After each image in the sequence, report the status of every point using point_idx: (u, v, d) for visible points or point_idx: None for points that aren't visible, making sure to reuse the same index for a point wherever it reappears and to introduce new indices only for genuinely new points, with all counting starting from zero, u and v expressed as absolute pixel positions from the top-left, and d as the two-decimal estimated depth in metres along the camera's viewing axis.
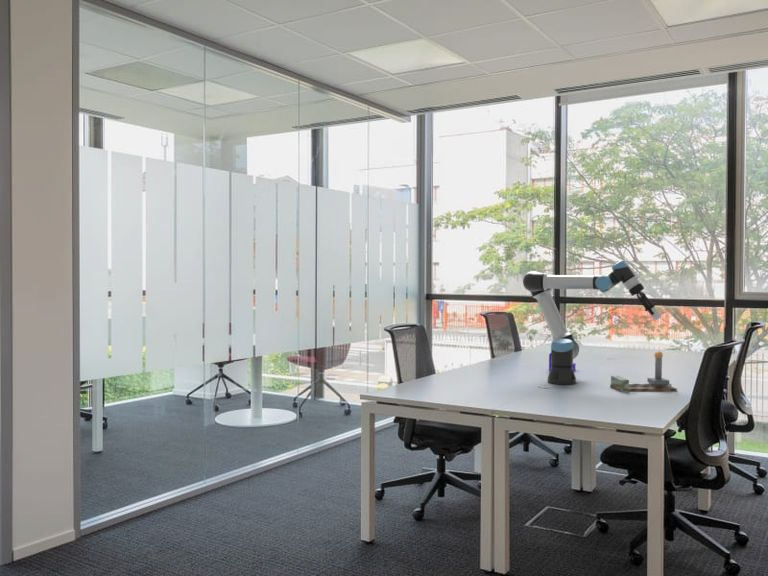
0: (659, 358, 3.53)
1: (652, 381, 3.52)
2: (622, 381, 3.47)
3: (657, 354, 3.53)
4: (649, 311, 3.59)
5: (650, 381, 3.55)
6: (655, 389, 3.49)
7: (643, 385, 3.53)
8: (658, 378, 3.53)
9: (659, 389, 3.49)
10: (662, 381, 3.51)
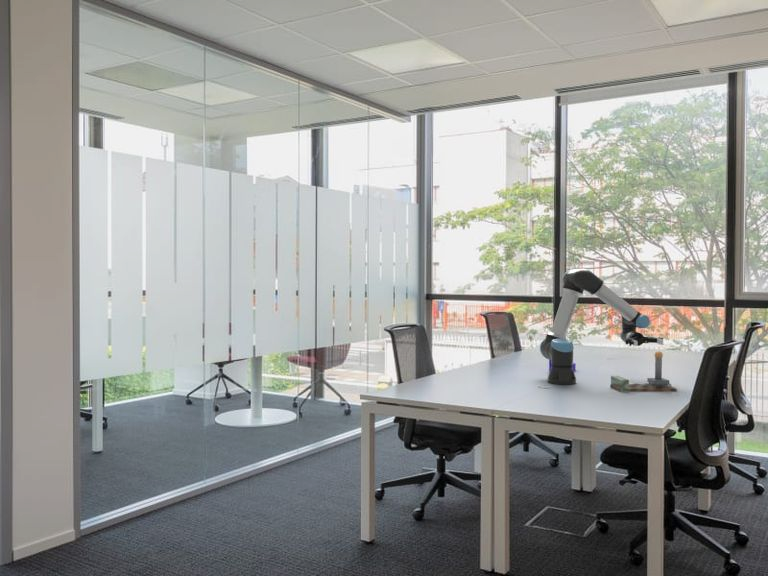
0: (659, 358, 3.53)
1: (652, 381, 3.52)
2: (622, 381, 3.47)
3: (657, 354, 3.53)
4: None
5: (650, 381, 3.55)
6: (655, 389, 3.49)
7: (643, 385, 3.53)
8: (658, 378, 3.53)
9: (659, 389, 3.49)
10: (662, 381, 3.51)
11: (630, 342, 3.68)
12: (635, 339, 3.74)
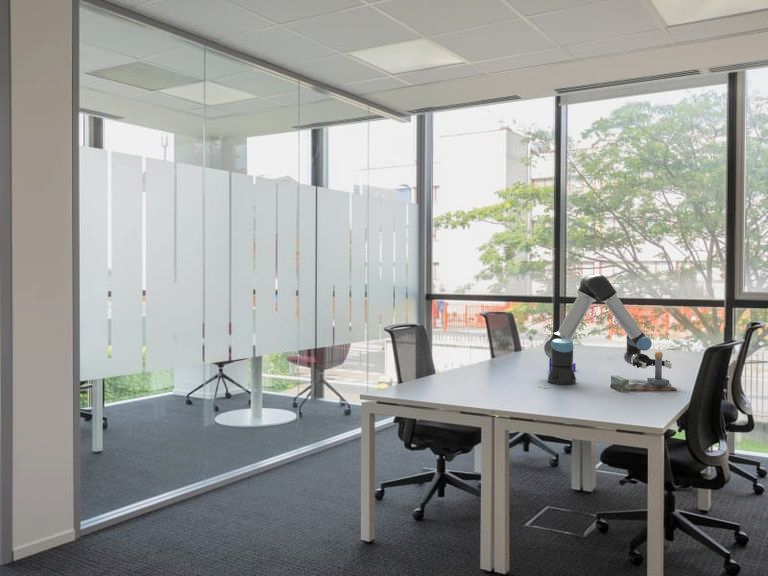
0: (659, 358, 3.53)
1: (652, 381, 3.52)
2: (622, 381, 3.47)
3: (657, 354, 3.53)
4: (668, 363, 3.63)
5: (650, 381, 3.55)
6: (655, 389, 3.49)
7: (643, 385, 3.53)
8: (658, 378, 3.53)
9: (659, 389, 3.49)
10: (662, 381, 3.51)
11: (638, 364, 3.61)
12: (642, 361, 3.68)
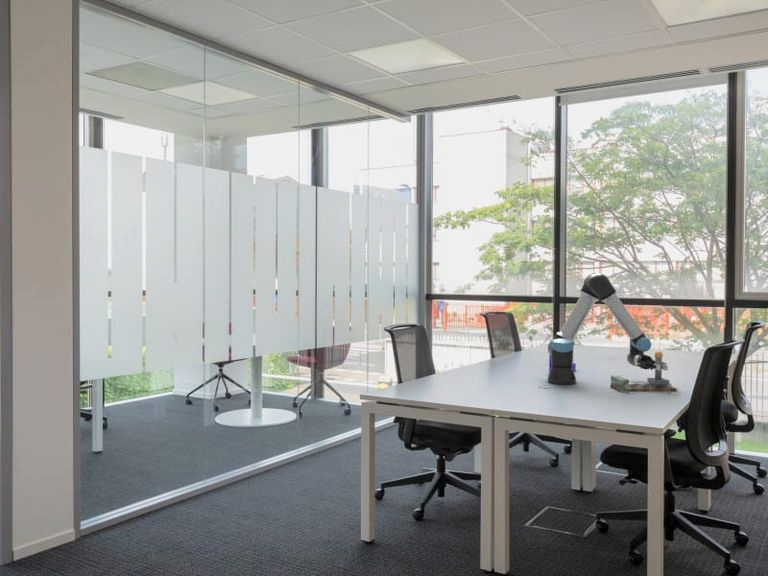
0: (659, 358, 3.53)
1: (652, 381, 3.52)
2: (622, 381, 3.47)
3: (657, 354, 3.53)
4: (664, 365, 3.55)
5: (650, 381, 3.55)
6: (655, 389, 3.49)
7: (643, 385, 3.53)
8: (658, 378, 3.53)
9: (659, 389, 3.49)
10: (662, 381, 3.51)
11: (652, 366, 3.54)
12: (649, 362, 3.62)
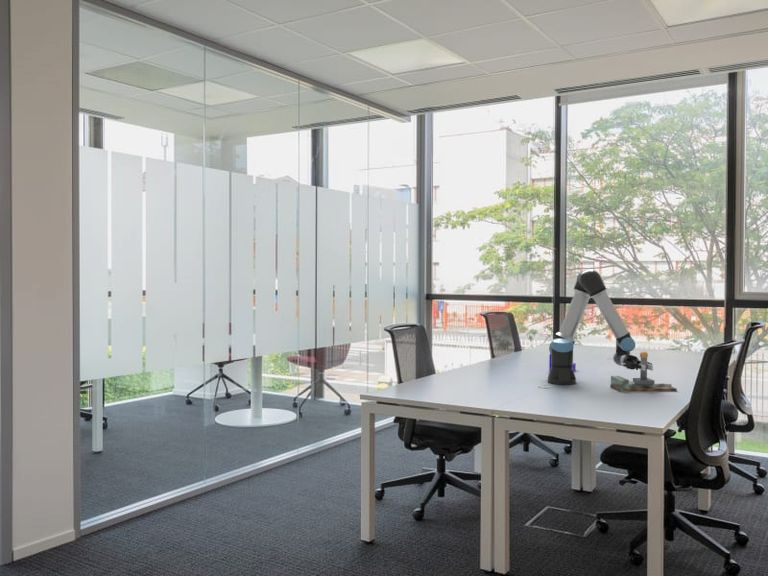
0: (644, 358, 3.53)
1: (637, 381, 3.52)
2: (622, 381, 3.47)
3: (642, 354, 3.53)
4: (650, 365, 3.54)
5: (635, 381, 3.54)
6: (655, 389, 3.49)
7: None
8: (643, 378, 3.53)
9: (659, 389, 3.49)
10: (647, 381, 3.50)
11: (637, 366, 3.54)
12: (635, 363, 3.61)
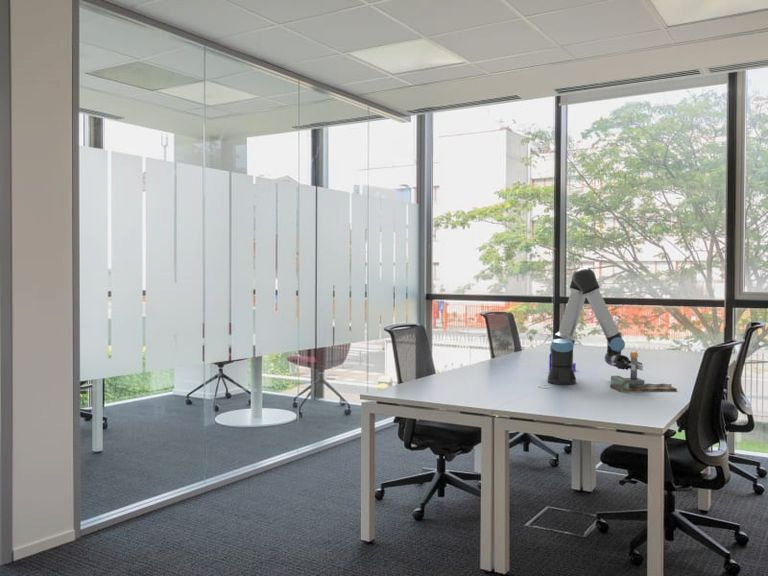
0: (634, 357, 3.52)
1: None
2: (622, 381, 3.47)
3: (632, 354, 3.52)
4: None
5: None
6: (655, 389, 3.49)
7: (643, 385, 3.53)
8: (633, 378, 3.53)
9: (659, 389, 3.49)
10: (637, 381, 3.50)
11: (627, 366, 3.54)
12: (625, 363, 3.61)
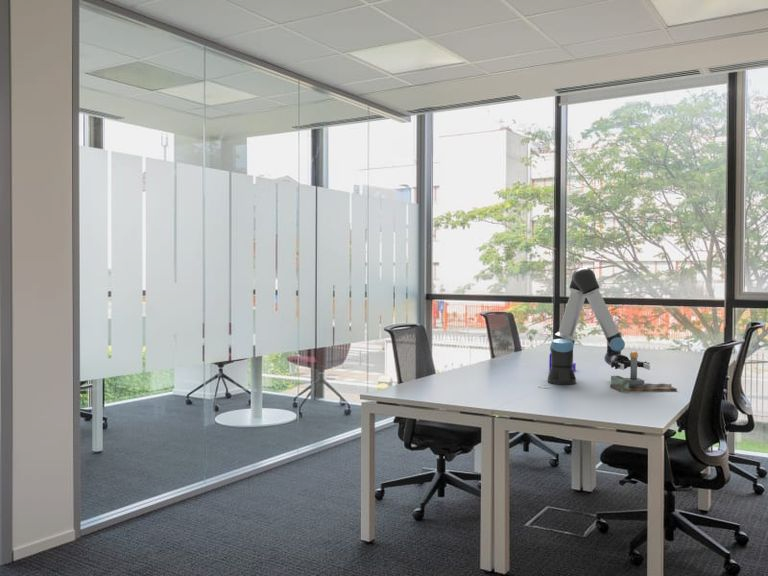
0: (634, 357, 3.52)
1: None
2: (622, 381, 3.47)
3: (632, 354, 3.52)
4: None
5: None
6: (655, 389, 3.49)
7: (643, 385, 3.53)
8: (633, 378, 3.53)
9: (659, 389, 3.49)
10: (637, 381, 3.50)
11: (616, 365, 3.56)
12: (621, 362, 3.62)
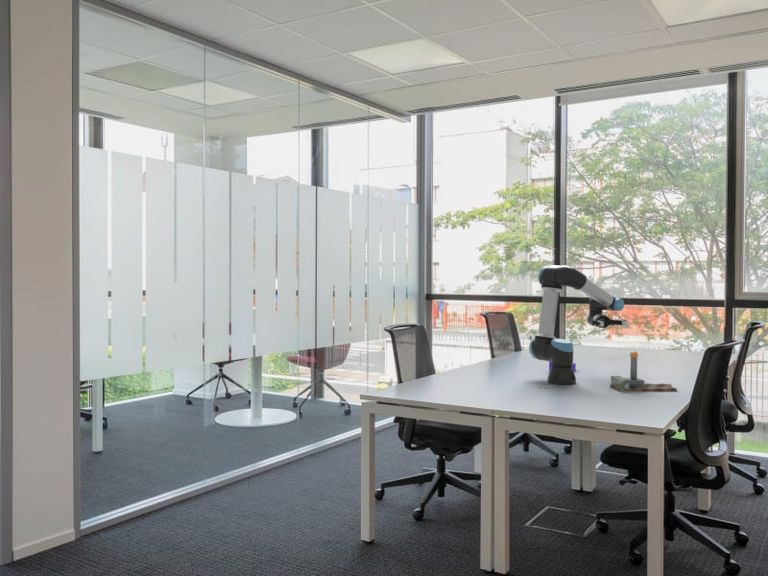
0: (634, 357, 3.52)
1: None
2: (622, 381, 3.47)
3: (632, 354, 3.52)
4: None
5: None
6: (655, 389, 3.49)
7: (643, 385, 3.53)
8: (633, 378, 3.53)
9: (659, 389, 3.49)
10: (637, 381, 3.50)
11: (596, 323, 3.82)
12: (601, 321, 3.88)
